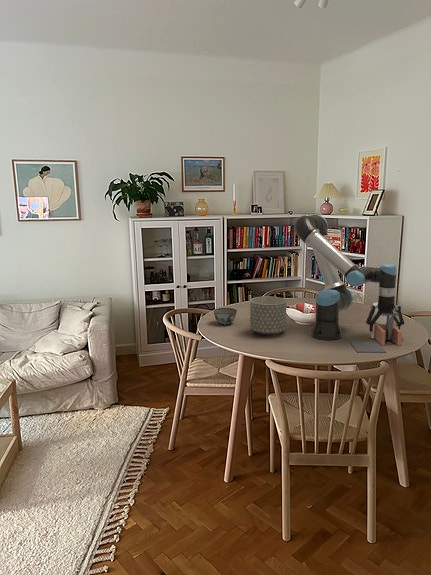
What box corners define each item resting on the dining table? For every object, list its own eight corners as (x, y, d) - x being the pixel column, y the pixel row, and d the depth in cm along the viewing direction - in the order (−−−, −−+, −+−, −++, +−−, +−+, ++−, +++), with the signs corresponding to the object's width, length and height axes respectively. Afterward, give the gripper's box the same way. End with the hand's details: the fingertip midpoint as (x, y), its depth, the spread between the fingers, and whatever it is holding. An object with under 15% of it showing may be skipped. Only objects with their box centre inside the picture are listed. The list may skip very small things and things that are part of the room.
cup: (392, 325, 233) (393, 306, 231) (373, 325, 235) (374, 306, 233) (388, 321, 243) (390, 302, 241) (370, 320, 245) (371, 302, 243)
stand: (382, 344, 204) (383, 314, 201) (379, 341, 208) (381, 312, 205) (398, 344, 203) (400, 314, 200) (395, 341, 207) (397, 312, 204)
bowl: (211, 326, 240) (210, 312, 238) (216, 320, 252) (216, 307, 251) (234, 327, 236) (234, 313, 235) (238, 321, 249) (238, 308, 248)
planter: (287, 329, 231) (288, 297, 228) (283, 339, 213) (284, 305, 210) (253, 327, 236) (253, 295, 233) (247, 337, 218) (247, 303, 215)
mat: (357, 352, 193) (357, 351, 193) (350, 343, 206) (350, 342, 206) (386, 352, 192) (386, 351, 192) (377, 343, 205) (377, 342, 205)
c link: (381, 345, 202) (382, 331, 201) (373, 336, 215) (374, 323, 214) (400, 345, 202) (401, 331, 200) (391, 337, 214) (392, 323, 213)
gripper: (364, 297, 206) (362, 339, 210) (413, 296, 204) (410, 340, 208) (360, 293, 213) (358, 335, 217) (408, 293, 211) (405, 335, 215)
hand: (384, 337), depth 213 cm, fingers open, 11 cm apart
